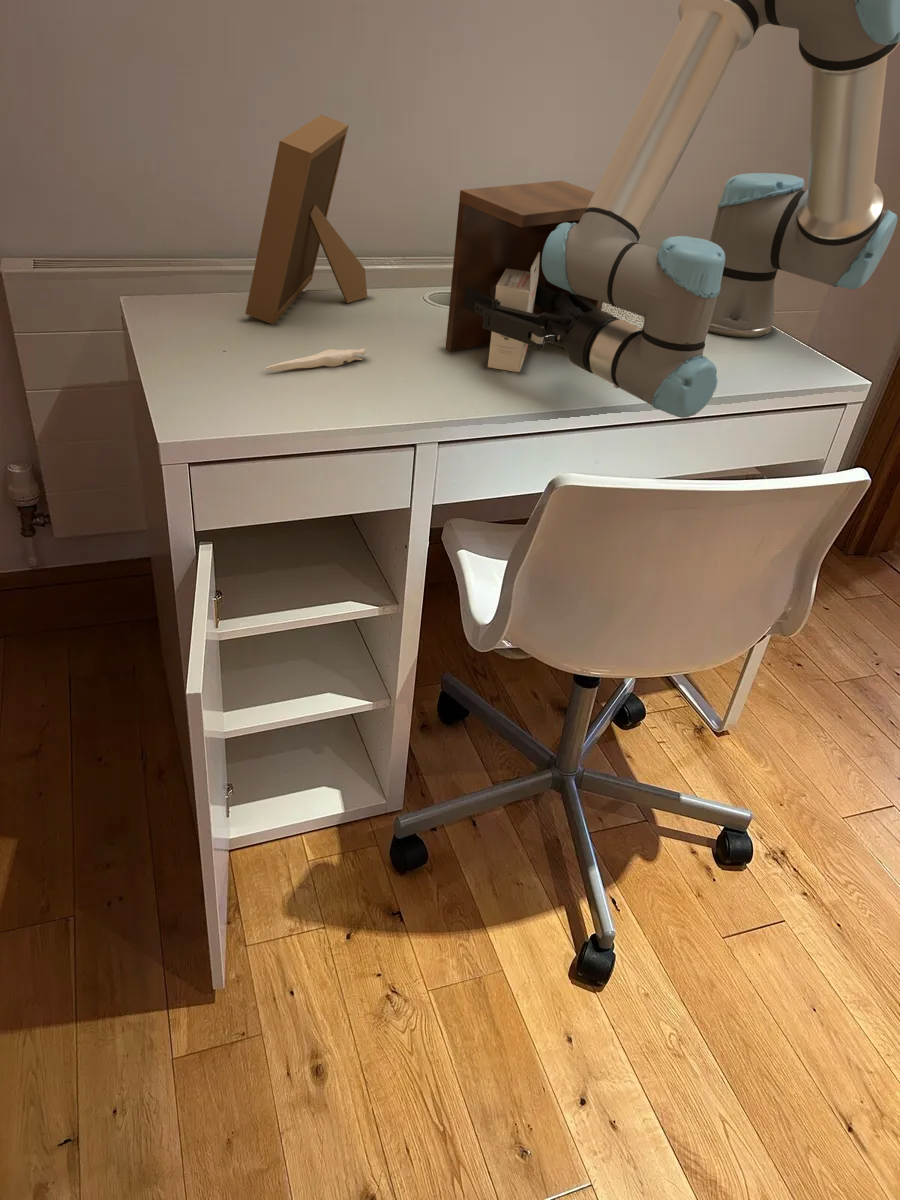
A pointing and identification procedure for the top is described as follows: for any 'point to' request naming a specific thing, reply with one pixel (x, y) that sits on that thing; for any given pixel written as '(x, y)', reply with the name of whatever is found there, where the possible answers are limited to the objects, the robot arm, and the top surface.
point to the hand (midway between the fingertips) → (494, 292)
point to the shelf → (505, 245)
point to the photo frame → (302, 222)
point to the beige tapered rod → (321, 359)
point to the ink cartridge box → (516, 294)
